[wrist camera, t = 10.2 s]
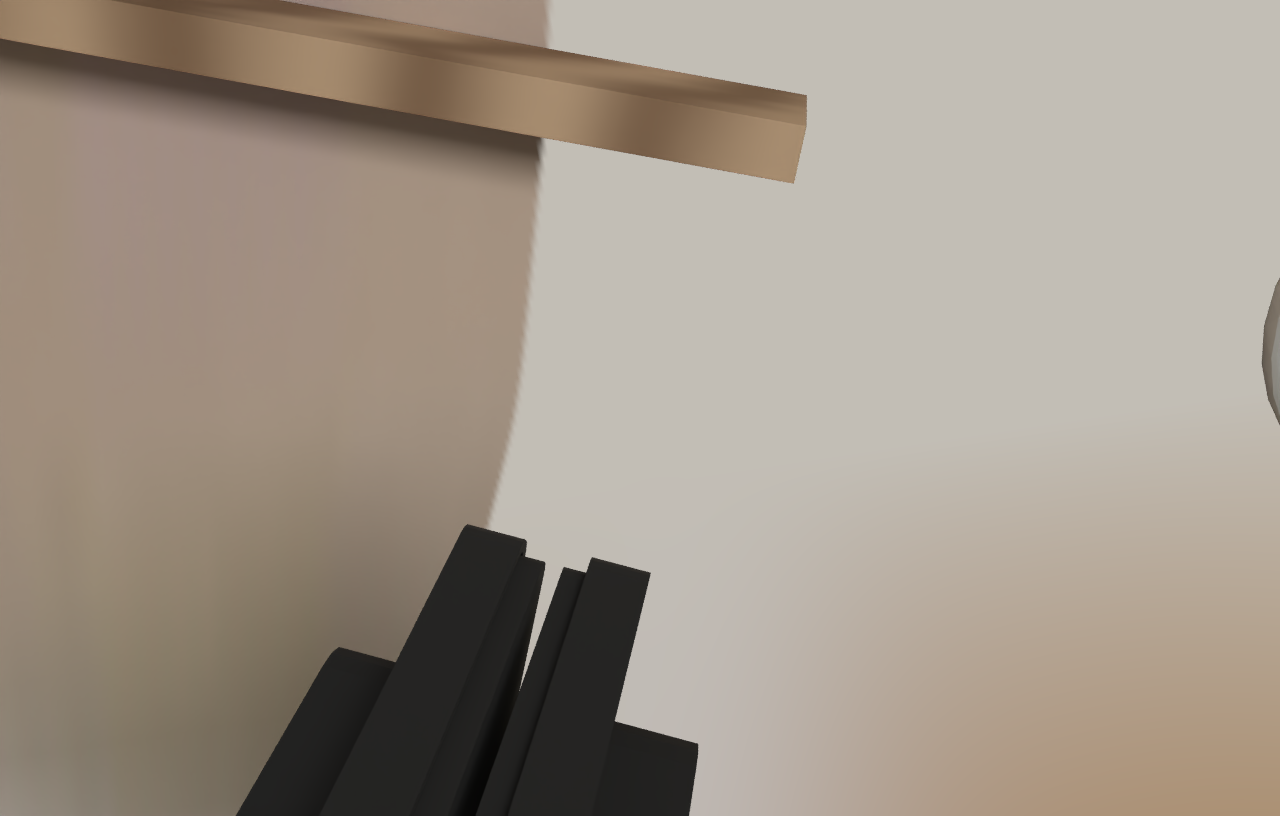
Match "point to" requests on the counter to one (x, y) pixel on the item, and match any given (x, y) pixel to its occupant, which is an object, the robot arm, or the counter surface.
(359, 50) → the trap track
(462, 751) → the robot arm
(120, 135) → the counter surface
